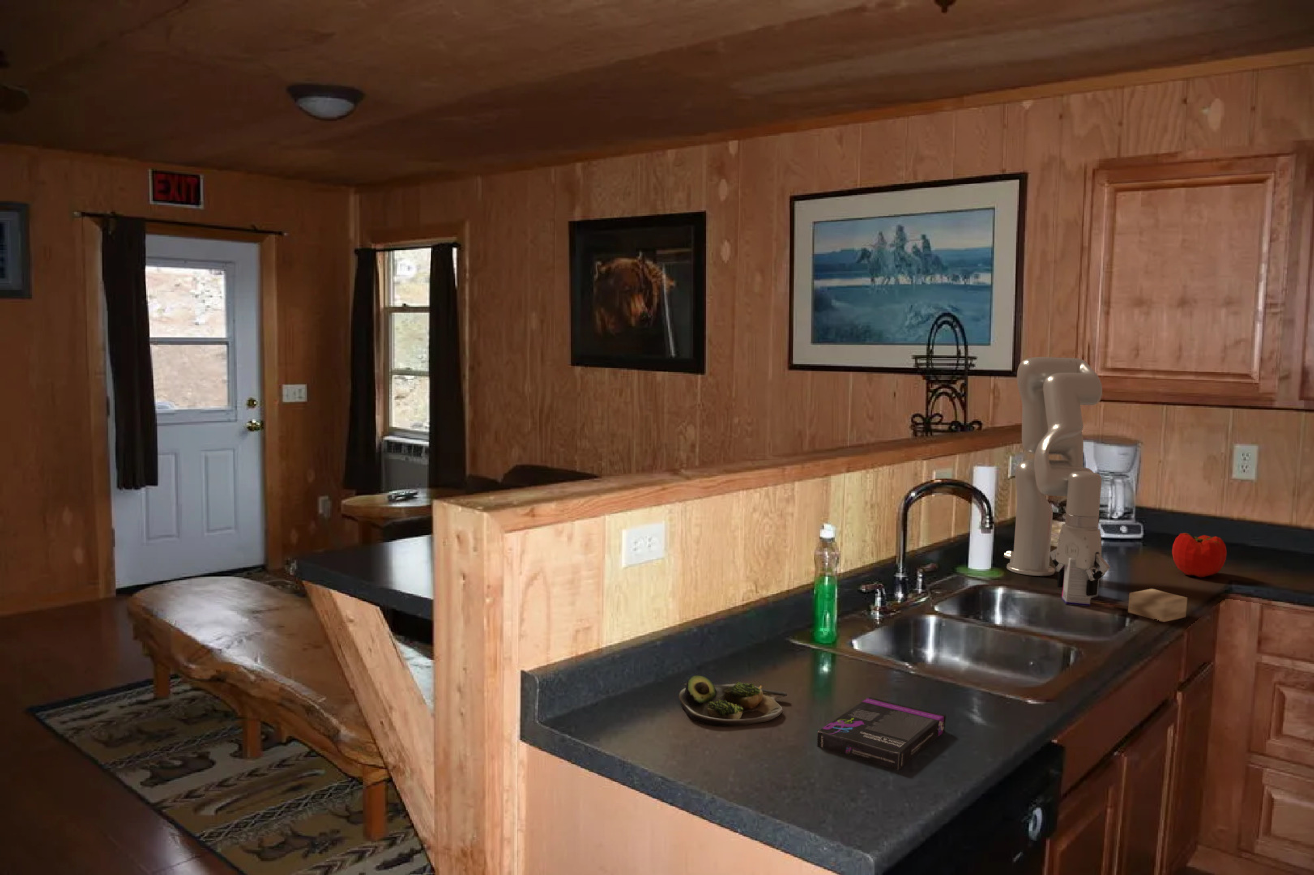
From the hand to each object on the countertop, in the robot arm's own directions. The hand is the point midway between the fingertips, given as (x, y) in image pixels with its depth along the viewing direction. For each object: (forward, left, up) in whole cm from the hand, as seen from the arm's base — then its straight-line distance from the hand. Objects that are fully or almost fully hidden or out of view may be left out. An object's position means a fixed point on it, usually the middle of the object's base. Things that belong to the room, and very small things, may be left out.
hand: (1076, 590), depth 248 cm
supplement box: (0, 0, -3) cm, 3 cm away
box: (+44, -101, -4) cm, 110 cm away
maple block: (+15, +10, -3) cm, 18 cm away
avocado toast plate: (+22, -117, -4) cm, 119 cm away
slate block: (-4, +8, -3) cm, 9 cm away
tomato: (-6, +58, -3) cm, 58 cm away
